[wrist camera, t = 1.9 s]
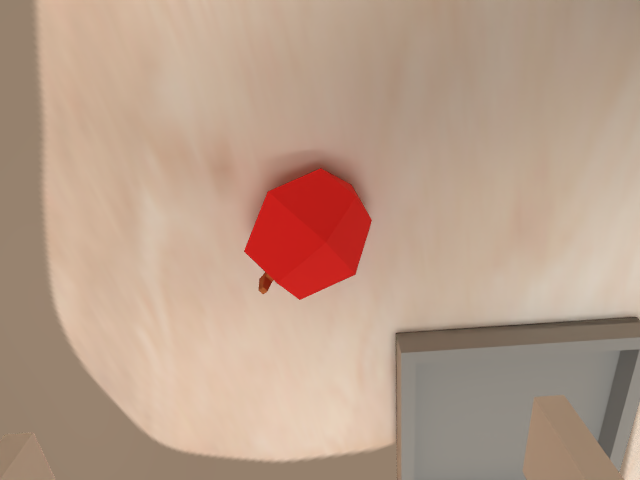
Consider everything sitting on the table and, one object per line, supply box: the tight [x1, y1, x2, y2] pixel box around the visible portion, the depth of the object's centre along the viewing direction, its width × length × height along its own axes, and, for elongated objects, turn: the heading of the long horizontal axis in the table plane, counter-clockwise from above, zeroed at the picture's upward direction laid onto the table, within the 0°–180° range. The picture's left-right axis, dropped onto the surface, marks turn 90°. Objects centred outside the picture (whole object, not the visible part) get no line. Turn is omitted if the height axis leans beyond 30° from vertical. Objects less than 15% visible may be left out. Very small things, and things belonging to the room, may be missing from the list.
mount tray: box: [396, 317, 640, 480], centre depth 34 cm, size 17×17×2 cm
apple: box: [244, 168, 372, 300], centre depth 25 cm, size 7×7×8 cm
